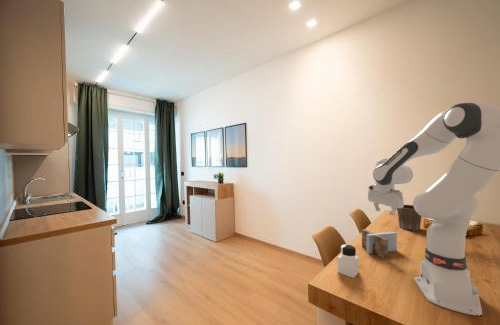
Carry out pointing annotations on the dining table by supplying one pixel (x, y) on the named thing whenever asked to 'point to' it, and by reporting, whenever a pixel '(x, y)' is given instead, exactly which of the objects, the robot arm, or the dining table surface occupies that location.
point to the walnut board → (376, 244)
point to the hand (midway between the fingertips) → (384, 212)
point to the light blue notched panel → (388, 235)
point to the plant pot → (409, 218)
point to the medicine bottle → (348, 261)
